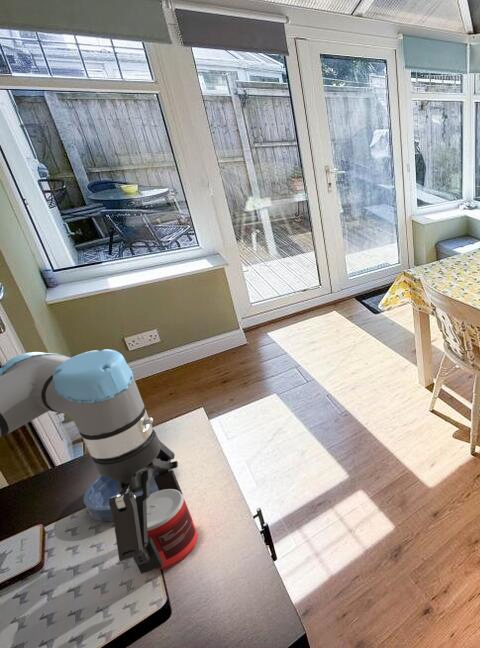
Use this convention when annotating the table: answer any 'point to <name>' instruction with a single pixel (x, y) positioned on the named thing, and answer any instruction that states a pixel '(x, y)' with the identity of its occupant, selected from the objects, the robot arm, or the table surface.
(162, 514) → the canned food
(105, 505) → the bowl
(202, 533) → the table surface
